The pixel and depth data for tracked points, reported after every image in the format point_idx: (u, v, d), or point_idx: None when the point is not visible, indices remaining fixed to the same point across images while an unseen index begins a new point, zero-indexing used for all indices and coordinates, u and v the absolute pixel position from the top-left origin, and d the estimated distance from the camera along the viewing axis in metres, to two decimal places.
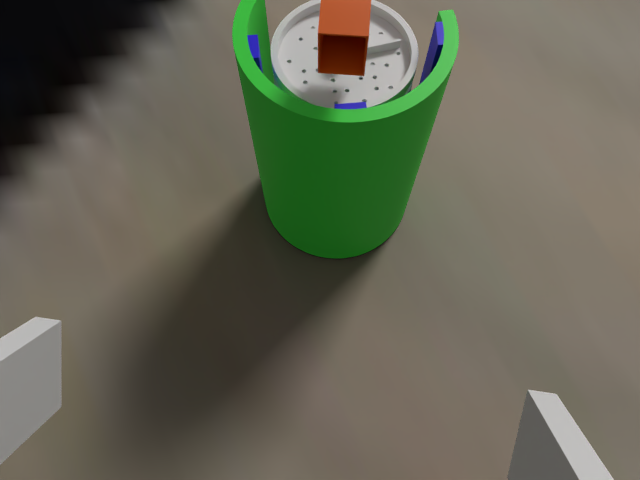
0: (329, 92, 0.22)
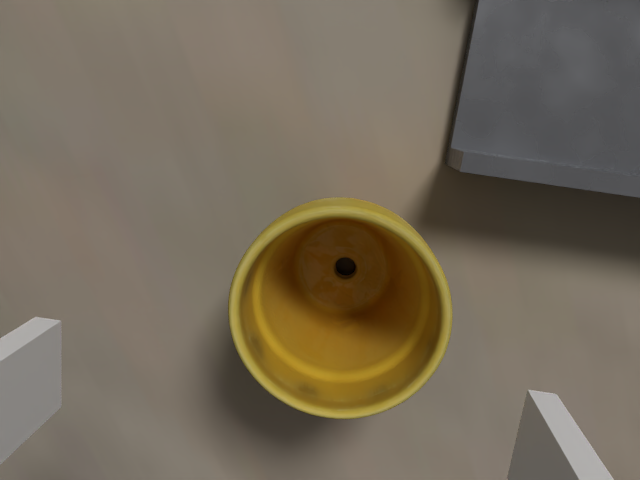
0: None
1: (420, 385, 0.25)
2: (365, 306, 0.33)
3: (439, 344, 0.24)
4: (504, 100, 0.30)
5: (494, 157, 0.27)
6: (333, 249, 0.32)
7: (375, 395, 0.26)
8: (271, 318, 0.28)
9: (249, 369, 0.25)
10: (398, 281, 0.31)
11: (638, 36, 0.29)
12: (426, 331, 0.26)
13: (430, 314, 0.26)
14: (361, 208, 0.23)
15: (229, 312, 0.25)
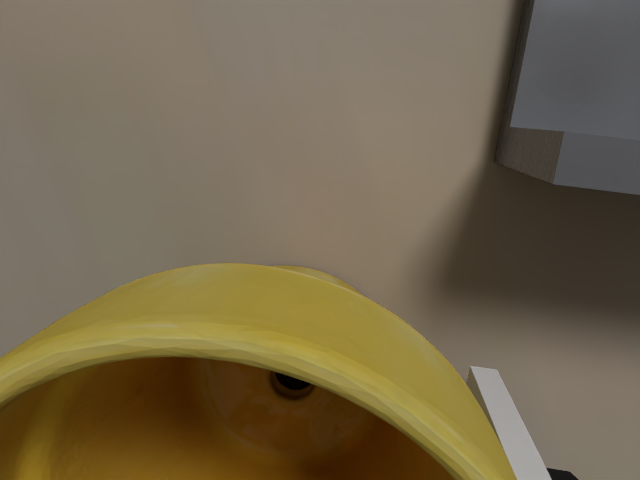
0: None
1: None
2: (335, 453, 0.16)
3: None
4: (634, 15, 0.13)
5: None
6: None
7: None
8: None
9: None
10: None
11: None
12: None
13: None
14: (251, 329, 0.07)
15: None
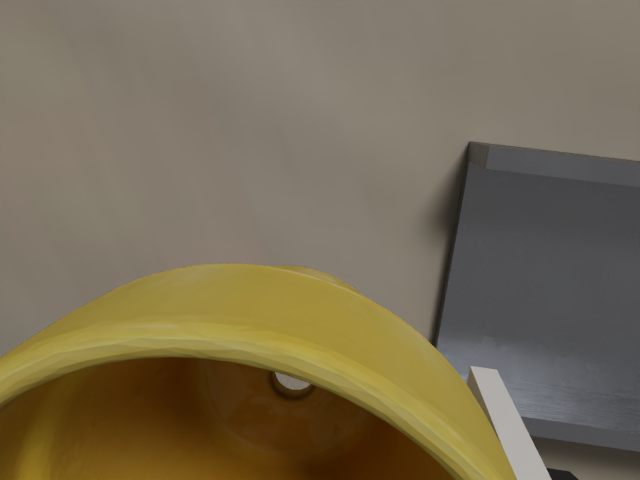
0: None
1: None
2: (335, 453, 0.16)
3: None
4: (484, 326, 0.30)
5: None
6: None
7: None
8: None
9: None
10: None
11: (616, 270, 0.29)
12: None
13: None
14: (251, 329, 0.07)
15: None
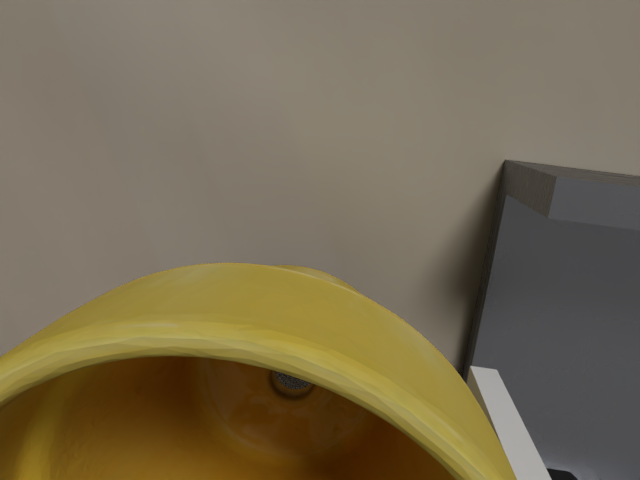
0: None
1: None
2: (335, 452, 0.16)
3: None
4: None
5: None
6: None
7: None
8: None
9: None
10: None
11: None
12: None
13: None
14: (250, 328, 0.07)
15: None
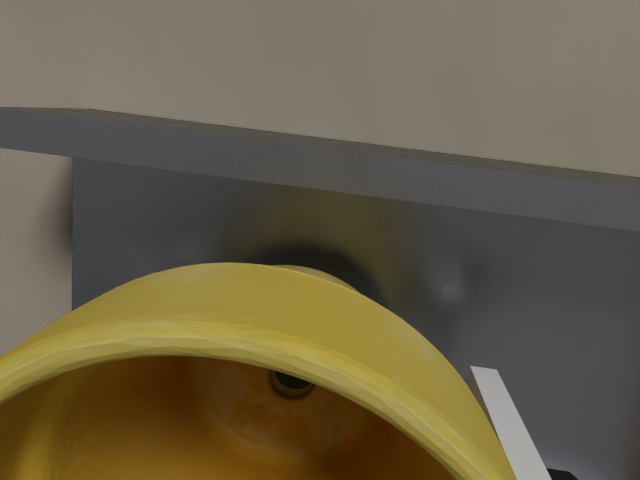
0: None
1: None
2: (335, 452, 0.16)
3: None
4: None
5: None
6: None
7: None
8: None
9: None
10: None
11: None
12: None
13: None
14: (250, 328, 0.07)
15: None
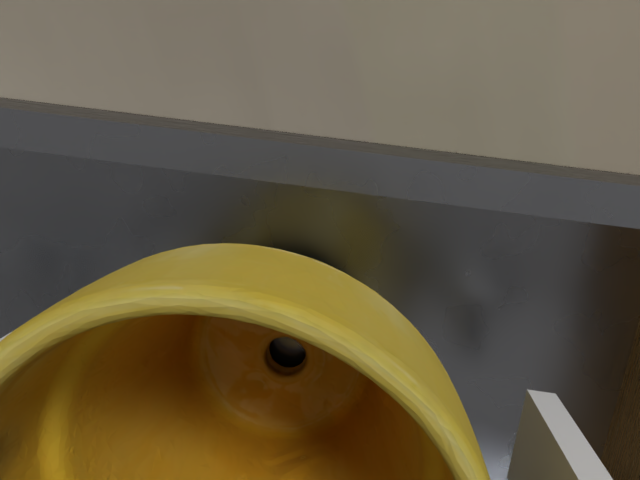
0: None
1: None
2: (325, 425, 0.18)
3: None
4: None
5: None
6: None
7: None
8: None
9: None
10: (381, 393, 0.16)
11: None
12: None
13: None
14: (242, 290, 0.08)
15: None
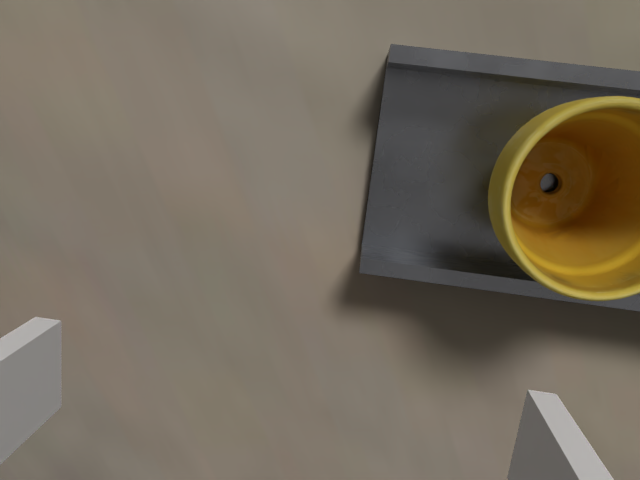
0: None
1: None
2: (568, 220, 0.35)
3: None
4: (402, 207, 0.37)
5: (385, 262, 0.34)
6: (540, 165, 0.35)
7: (626, 280, 0.28)
8: None
9: (517, 254, 0.27)
10: (612, 190, 0.33)
11: None
12: None
13: None
14: (636, 98, 0.25)
15: (503, 201, 0.27)
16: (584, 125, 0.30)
